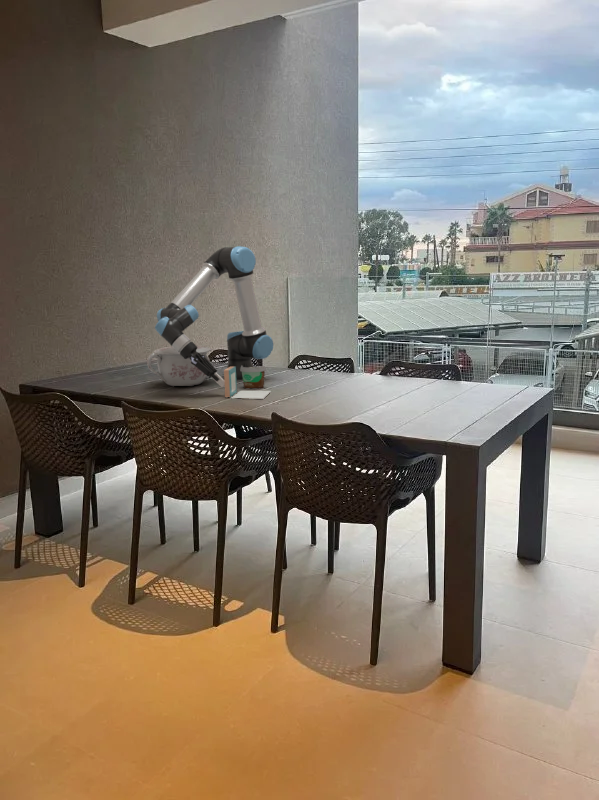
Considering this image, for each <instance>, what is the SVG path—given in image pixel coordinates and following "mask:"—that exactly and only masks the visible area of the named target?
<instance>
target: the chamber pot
mask: <svg viewBox="0 0 599 800" xmlns="http://www.w3.org/2000/svg"><path fill="white" fill-rule="evenodd" d="M195 345H196V344H195ZM196 346H197V349H196V351H197V352H198V353H200V354H201V355H204V356H205V357H206V359H207V360H208V361H209V362H210V358H209V356H208V353H209V352H211V351H212V350H213V349H212V348H211V347H209V346H206V345H196ZM154 358H155V359H157V362H156V363H157V364H156V365H157V369H158V371H156V369H154V368H153V366H152V360H153V359H154ZM146 361H147V363H146V364H147V368H148V369H149V370H150V372H151V373H153V374H155V375H156V376H158V377H159V378H160V379H161V380H162V381H164V383H165V384H166V385H168V386H171V387H174V386H191V387H194V385H196V386H198V385H200V384H202V383H203V382H204V381H205V379H206V378H207V377H208V376H207V375H205V374H204V373H203V372H202V371H201V370H199V369H198V368H197V367H196V366H194V365H193V364H191V360H190V358H187V359H185V358H184V357H183V356H181V355H180V352H178V351H177V350H174V348H173V347H172V346H171V345H170V346H165V347H161V348H157V349H154V351H153V352H152V353H150V354H149V356H148V357H147V359H146Z"/></svg>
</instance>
